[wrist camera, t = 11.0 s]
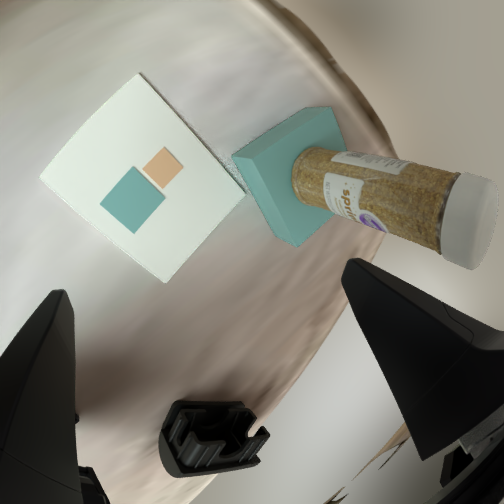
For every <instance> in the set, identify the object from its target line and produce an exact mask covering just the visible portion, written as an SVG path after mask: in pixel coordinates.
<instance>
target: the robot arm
mask: <svg viewBox="0 0 504 504" xmlns="http://www.w3.org/2000/svg"><path fill="white" fill-rule="evenodd" d="M341 282H342V286H343V288H344V290H345V293H346V295H347V298H348V300H349V303H350V305H351V308H352V310H353V313H354V315H355V317H356V320H357V322H358V323H359V326H360V328H361V329H362V332H363V334H364V336H365V338H366V340H367V342H368V344H369V345H370V348H371V350H372V351H373V354H374V355H375V358H376V360H377V362H378V364H379V366H380V368H381V370H382V372H383V374H384V376H385V378H386V380H387V383H388V385H389V387H390V389H391V391H392V393H393V396H394V398H395V400H396V402H397V404H398V407H399V409H400V411H401V413H402V415H403V418H404V420H405V423H406V425H407V427H408V430H409V432H410V434H411V437H412V439H413V441H414V444H415V446H416V448H417V451H418V454H419V456H420V458H421V460H422V461H424V460H426V459H428V458H429V457H431V456H433V455H434V454H436V453H437V452H439V451H441V450H442V449H444V448H446V447H447V446H449V445H450V444H452V443H453V442H455V441H456V440H458V442H459V444H458V445H457V446H456V447H455V448H454V449H452V450H451V451H450V452H449V453H448V454H446V455H445V457H444V463H443V469H442V474H441V479H440V483H441V485H442V487H443V489H442V490H440V491H439V492H438V493H437V494H435V495H434V496H433V497H432V498H430V499H429V500H428V501H426V502H425V503H424V504H504V331H499V330H496V329H494V328H492V327H490V326H488V325H486V324H484V323H482V322H480V321H478V320H476V319H474V318H472V317H470V316H468V315H466V314H464V313H462V312H460V311H458V310H456V309H455V308H453V307H451V306H449V305H447V304H446V303H444V302H441V301H440V300H438V299H436V298H435V297H433V296H431V295H429V294H427V293H426V292H424V291H422V290H420V289H418V288H416V287H414V286H413V285H411V284H409V283H407V282H405V281H403V280H401V279H400V278H398V277H396V276H394V275H392V274H390V273H388V272H386V271H384V270H382V269H380V268H379V267H377V266H374V265H373V264H371V263H369V262H367V261H365V260H363V259H361V258H352V259H349V260H348V261H347V263H346V266H345V269H344V271H343V274H342V277H341ZM75 364H76V361H75V331H74V311H73V308H72V305H71V303H70V300H69V297H68V295H67V292H66V291H65V290H64V289H58V290H52V291H51V292H50V293H49V294H48V296H47V297H46V298H45V299H44V300H43V302H42V303H41V304H40V305H39V306H38V308H37V309H36V310H35V311H34V313H33V314H32V315H31V316H30V318H29V319H28V320H27V321H26V323H25V324H24V325H23V327H22V328H21V329H20V330H19V332H18V333H17V334H16V336H15V337H14V338H13V340H12V341H11V343H10V344H9V345H8V347H7V348H6V349H5V351H4V352H3V354H2V355H1V357H0V504H110V501H109V499H108V497H107V495H106V494H105V492H104V490H103V488H102V486H101V484H100V482H99V480H98V478H97V476H96V474H95V472H94V470H93V468H92V467H82V466H78V461H77V449H76V433H75V424H76V423H78V422H79V416H78V415H77V414H76V413H75Z"/></svg>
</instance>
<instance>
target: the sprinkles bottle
mask: <svg viewBox="0 0 504 504" xmlns="http://www.w3.org/2000/svg"><path fill="white" fill-rule="evenodd" d="M291 182H292V188H293V191H294V193H295V195H296V197H297V198H298V200H299V201H301V202H302V203H303V204H305V205H308V206H316V207H319V208H323V209H325V210H328V211H331V212H333V213H335V214H337V215H339V216H342V217H345V218H348V219H351V220H353V221H356V222H359V223H362V224H364V225H367V226H370V227H373V228H375V229H378V230H381V231H383V232H386V233H391V234H394V235H397V236H399V237H402V238H405V239H407V240H409V241H412V242H415V243H418V244H420V245H422V246H425V247H427V248H430V249H432V250H435V251H436V252H437V253H438V254H440V255H441V254H442V255H443V257H444V258H445V259H446V260H448V261H450V262H453V263H455V264H457V265H459V266H462V267H464V268H466V269H470V270H473V269H475V268H477V267H478V266H479V265H480V263H481V262H482V260H483V258H484V256H485V254H486V252H487V250H488V247H489V245H490V242H491V239H492V235H493V232H494V227H495V224H496V218H497V212H498V189H497V186H496V184H495V183H494V182H493V181H492V180H489V179H487V178H484V177H481V176H477V175H474V174H470V173H462V174H461V173H459V172H456V173H451V172H448V171H445V170H440V169H436V168H432V167H428V166H423V165H419V164H417V163H414V162H410V161H405V160H399V159H394V158H389V157H383V156H377V155H371V154H365V153H358V152H351V151H343V152H342V151H335V150H327V149H325V148H322V147H311V148H308V149H306V150H304V151H303V152H302V153H301V154H300V155H299V156H298V157H297V159H296V160H295V162H294V165H293V168H292V177H291Z"/></svg>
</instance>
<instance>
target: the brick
mask: <svg viewBox="0 0 504 504" xmlns="http://www.w3.org/2000/svg"><path fill="white" fill-rule="evenodd" d="M311 147H322V148H325V149H327V150H335V151H342V152H343V151H347V148H346V146H345V143H344V140H343V137H342V134H341V132H340V129H339V126H338V124H337V121H336V118H335V116H334V113H333V111H332V108H331V107H311V108H305V109H303V110H301V111H300V112H298V113H296V114H295V115H293V116H291V117H290V118H288V119H287V120H285V121H283V122H282V123H280V124H279V125H277V126H275V127H274V128H272V129H271V130H269V131H268V132H266V133H265V134H263V135H261V136H260V137H258V138H257V139H255V140H254V141H252V142H251V143H249V144H248V145H246V146H245V147H244V148H242V149H241V150H239V151H238V152H236V153H235V154H233V155H232V156H231V157H232V159H233V161H234V162H235V164H236V166H237V168H238V169H239V171H240V173H241V175H242V177H243V178H244V180H245V182H246V184H247V185H248V187H249V189H250V191H251V193H252V194H253V196H254V198H255V200H256V202H257V203H258V205H259V207H260V209H261V211H262V213H263V214H264V216H265V218H266V220H267V222H268V224H269V225H270V227H271V229H272V231H273V233H274V235H275V236H276V237H278V238H280V239H282V240H284V241H285V242H287V243H289V244H291V245H293V246H295V247H299V246H300V245H301V244H302V243H303V242H304V241H305V240H306V239H307V238H309V237H310V236H311V235H312V234H313V233H314V232H315V231H316V230H317V229H319V228H320V227H321V226H322V225H323V224H324V223H325V222H326V221H327V220H328V219H330V218H331V217H332V216H333V215H334V214H335V213H333V212H331V211H328V210H325V209H323V208H319V207H316V206H308V205H305V204H303V203H302V202H301V201H299V200H298V198H297V197H296V195H295V193H294V191H293V188H292V182H291V177H292V168H293V165H294V162H295V160H296V159H297V157H298V156H299V155H300V154H301V153H302V152H303V151H304V150H306V149H308V148H311Z"/></svg>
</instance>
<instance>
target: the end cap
mask: <svg viewBox="0 0 504 504" xmlns="http://www.w3.org/2000/svg"><path fill="white" fill-rule="evenodd" d="M244 407H245V405H244V404H243V402H241V401H232V402H204V401H175V402H174V403H173V404H172V406H171V408H170V410H169V412H168V415H167V417H166V419H165V421H164V423H163V427H162V429H161V431H160V435H159V454H160V458H161V461H162V464H163V466H164V468H165V469H166V471H167V472H168V473H169V474H170V475H171V476H173V477H175V478H183V477H193V476H201V475H209V474H216V473H222V472H228V471H233V470H239V469H244V468H249V467H254V466H256V465H258V463H260V462H261V461H260V459H259V458H258V457H257V455H256V454H257V453H258V451H259V450H260V449H261V448H262V446H263V445H264V444H265V442H266V441H267V440H268V438H269V437H270V434H269V432H268V431H267V430H266V428H265V427H264V426H261V427H260V428H259V429H258V431H257V432H256V434H255V435H254V437H248V431H249V430H250V428H251V427H252V425H253V424H254V422H255V421H256V419H257V417H256V416H255V415H254V413H253V412H252V411H251V410H250V409H248V408H244Z"/></svg>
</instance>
